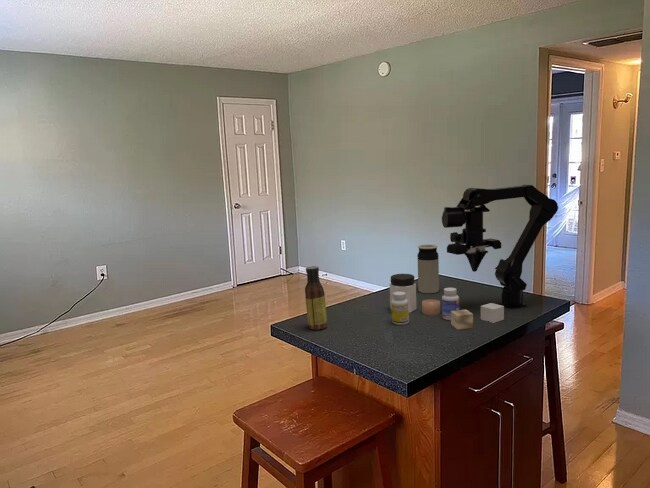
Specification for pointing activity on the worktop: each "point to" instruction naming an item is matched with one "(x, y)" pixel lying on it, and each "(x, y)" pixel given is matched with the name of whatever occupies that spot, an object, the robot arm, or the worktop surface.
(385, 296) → the worktop surface
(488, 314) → the grey block
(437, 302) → the tan rounded cylinder
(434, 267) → the travel mug
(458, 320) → the birch block
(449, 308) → the pill bottle
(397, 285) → the jar
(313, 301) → the sauce bottle
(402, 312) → the supplement bottle
